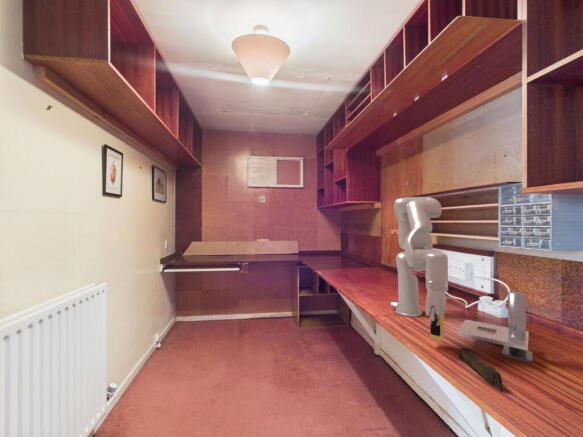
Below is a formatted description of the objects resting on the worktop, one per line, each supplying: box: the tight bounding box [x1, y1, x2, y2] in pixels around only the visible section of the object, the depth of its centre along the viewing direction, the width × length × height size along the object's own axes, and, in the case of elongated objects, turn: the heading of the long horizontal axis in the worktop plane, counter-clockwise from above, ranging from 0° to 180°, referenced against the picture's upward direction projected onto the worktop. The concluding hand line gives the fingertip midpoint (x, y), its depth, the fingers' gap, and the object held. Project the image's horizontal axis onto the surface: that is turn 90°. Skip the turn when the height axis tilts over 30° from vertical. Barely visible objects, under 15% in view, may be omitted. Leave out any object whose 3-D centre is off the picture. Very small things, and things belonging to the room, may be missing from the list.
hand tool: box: [457, 347, 503, 392], centre depth 89 cm, size 19×4×4 cm, turn 174°
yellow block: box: [429, 313, 445, 341], centre depth 107 cm, size 4×4×9 cm
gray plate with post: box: [457, 291, 533, 364], centre depth 104 cm, size 21×16×22 cm
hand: (437, 332), depth 107 cm, fingers closed on yellow block, 4 cm apart
